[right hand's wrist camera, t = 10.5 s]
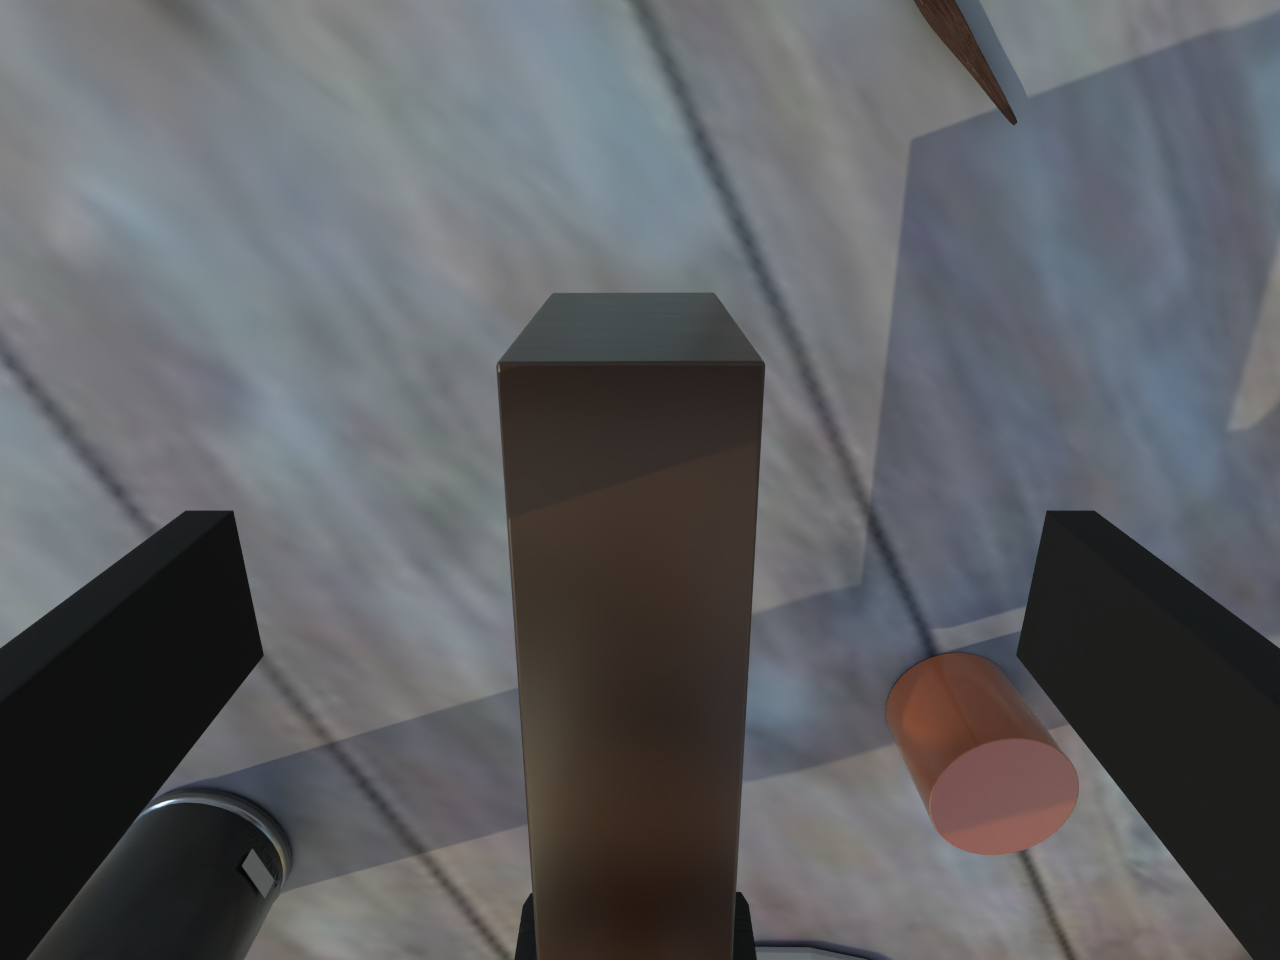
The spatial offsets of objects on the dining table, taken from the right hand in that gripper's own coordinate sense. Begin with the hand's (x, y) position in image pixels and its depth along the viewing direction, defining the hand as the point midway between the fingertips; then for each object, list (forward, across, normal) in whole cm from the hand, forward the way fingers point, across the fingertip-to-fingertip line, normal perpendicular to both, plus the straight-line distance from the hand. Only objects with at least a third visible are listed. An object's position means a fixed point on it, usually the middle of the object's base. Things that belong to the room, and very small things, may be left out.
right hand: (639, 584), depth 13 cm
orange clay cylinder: (+24, +17, -21) cm, 37 cm away
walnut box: (+13, 0, -9) cm, 16 cm away
